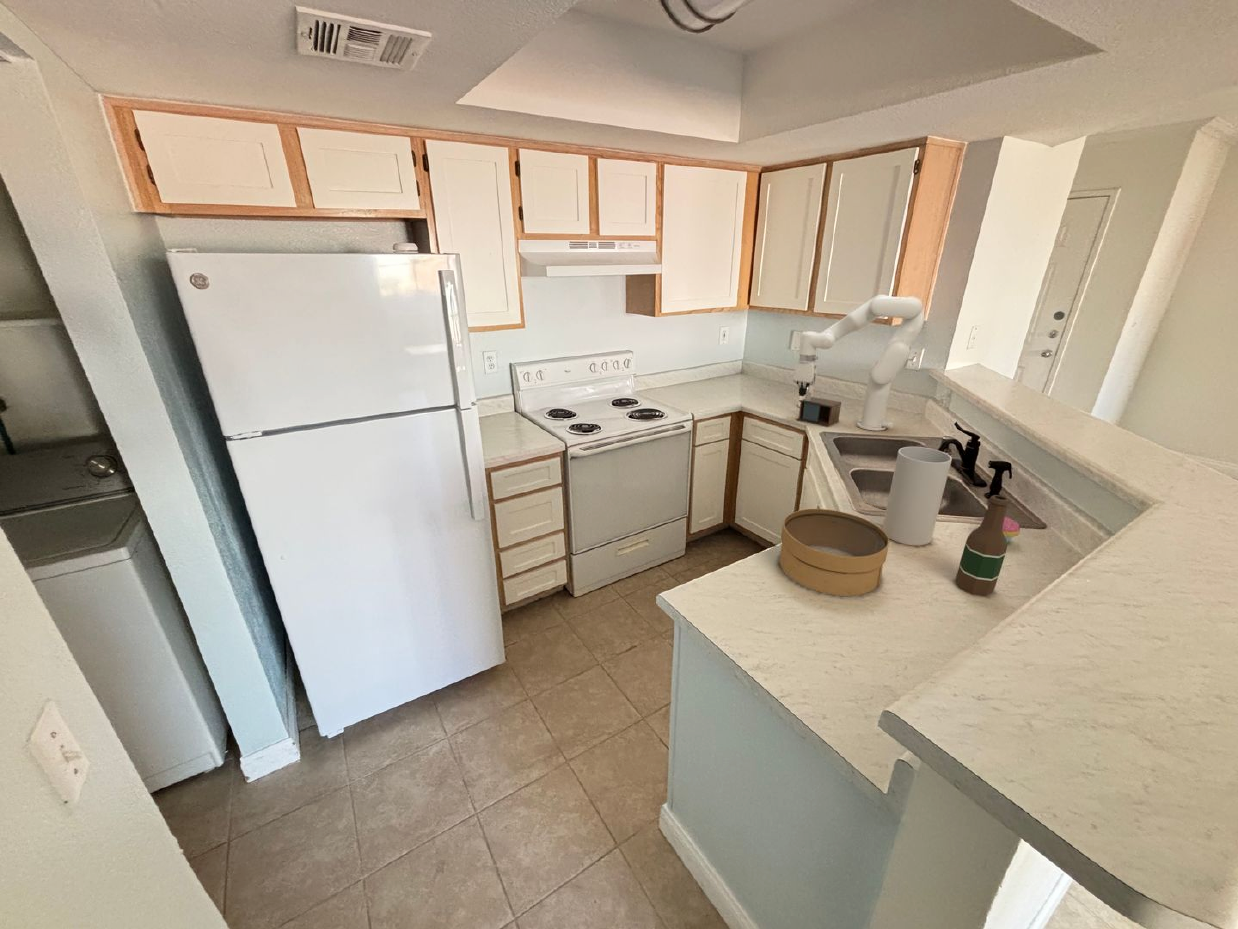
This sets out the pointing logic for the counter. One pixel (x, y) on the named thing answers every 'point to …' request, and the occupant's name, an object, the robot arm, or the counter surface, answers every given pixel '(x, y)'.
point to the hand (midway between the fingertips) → (802, 395)
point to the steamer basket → (827, 568)
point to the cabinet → (823, 411)
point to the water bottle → (809, 389)
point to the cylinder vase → (916, 495)
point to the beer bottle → (984, 551)
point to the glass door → (810, 409)
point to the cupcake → (1010, 528)
